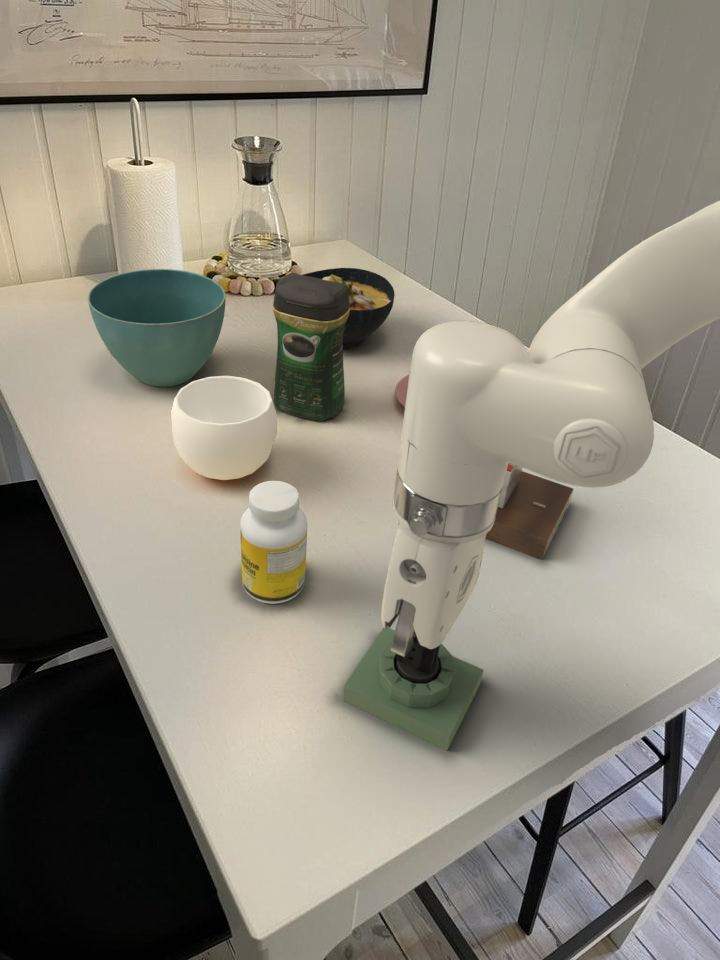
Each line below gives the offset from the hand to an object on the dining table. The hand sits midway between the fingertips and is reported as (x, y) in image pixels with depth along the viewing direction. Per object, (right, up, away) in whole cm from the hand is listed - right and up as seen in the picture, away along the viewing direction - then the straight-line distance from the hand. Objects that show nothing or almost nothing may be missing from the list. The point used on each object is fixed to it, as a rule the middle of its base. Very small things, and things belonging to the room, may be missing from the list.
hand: (416, 660), depth 65 cm
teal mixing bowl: (-33, +31, +45) cm, 64 cm away
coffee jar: (-12, +26, +41) cm, 50 cm away
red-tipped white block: (+12, +14, +23) cm, 29 cm away
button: (0, -1, +1) cm, 2 cm away
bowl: (-8, +39, +58) cm, 71 cm away
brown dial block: (+12, +12, +24) cm, 29 cm away
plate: (+7, +26, +43) cm, 51 cm away
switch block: (0, -3, +3) cm, 4 cm away
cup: (-21, +17, +28) cm, 39 cm away
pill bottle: (-14, +5, +12) cm, 19 cm away
